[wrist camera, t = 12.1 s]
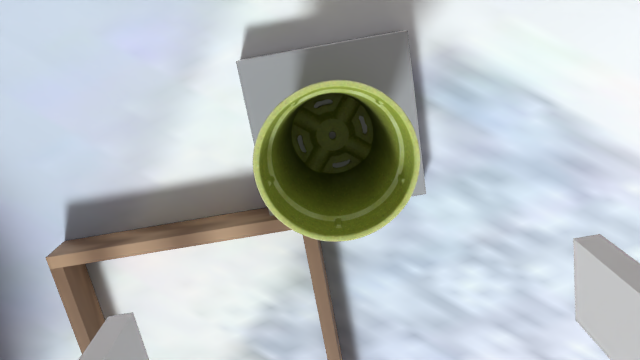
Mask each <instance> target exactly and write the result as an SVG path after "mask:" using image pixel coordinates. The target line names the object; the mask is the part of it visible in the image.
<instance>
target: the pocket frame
mask: <svg viewBox="0 0 640 360" xmlns="http://www.w3.org/2000/svg"><path fill="white" fill-rule="evenodd" d="M287 230H292V229H290V228H289V227H287V226H286V225H284V224H283V223H282V222H281V221H280V220H279V219H277V218H276V217H275V216H274V215H273V216H270V214H269V210H268V207H267V208H261V209H255V210H249V211H243V212H237V213H231V214H225V215H219V216H213V217H207V218H201V219H195V220H189V221H183V222H177V223H171V224H165V225H158V226H152V227H146V228H140V229H134V230H128V231H122V232H116V233H110V234H104V235H98V236H92V237H86V238H80V239H74V240H68V241H64V242H63V243H62V244H61V245H60V246H58V247H57V248H56V249H55V250H54V251H53V252H52V253H50V254H49V255H48V256H47V257H46V260H47V262H48V265H49V268H50V270H51V273H52V276H53V278H54V281H55V284H56V286H57V289H58V292H59V294H60V297H61V300H62V302H63V305H64V307H65V310H66V313H67V315H68V318H69V321H70V323H71V326H72V329H73V331H74V334H75V337H76V339H77V342H78V345H79V347H80V350H81V353H82V354H83V352H84V351H85V350H86V348H87V347H88V345H89V344H90V342H91V341H92V339H93V338H94V337H95V335H96V334H97V332H98V331H99V329H100V328H101V326H102V325H103V323H104V322H105V319H104V316H103V314H102V311H101V308H100V305H99V302H98V299H97V296H96V294H95V291H94V288H93V285H92V282H91V279H90V277H89V274H88V271H87V268H86V265H85V264H86V263H92V262H98V261H104V260H110V259H116V258H122V257H128V256H135V255H141V254H147V253H153V252H159V251H165V250H171V249H177V248H183V247H190V246H196V245H202V244H208V243H214V242H220V241H226V240H232V239H239V238H245V237H251V236H257V235H263V234H269V233H275V232H281V231H287ZM303 239H304V244H305V249H306V254H307V259H308V264H309V269H310V274H311V279H312V284H313V289H314V294H315V299H316V304H317V309H318V314H319V319H320V324H321V329H322V334H323V339H324V344H325V349H326V354H327V359H328V360H343V359H342V354H341V349H340V343H339V338H338V333H337V328H336V322H335V317H334V312H333V306H332V301H331V296H330V290H329V285H328V280H327V275H326V269H325V264H324V259H323V253H322V248H321V243H320V240H317V239H313V238H310V237H307V236H304V235H303Z"/></svg>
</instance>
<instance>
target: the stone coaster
mask: <svg viewBox="0 0 640 360" xmlns="http://www.w3.org/2000/svg"><path fill="white" fill-rule="evenodd" d="M236 64H237V68H238V73H239V77H240V82H241V86H242V91H243V96H244V100H245V105H246V109H247V114H248V118H249V123H250V128H251V132H252V137H253V141H254V146H255V142H256V139H257V136H258V134H259V131H260V129H261V127H262V125H263V123H264V122H265V120H266V119H267V117H268V116H269V114H270V113H271V112H272V111H273V109H274V108H275V107H276V106H277V105H278V104H279V103H280V102H282V101H283V100H284V99H285V98H287V97H288V96H290V95H291V94H293V93H294V92H296V91H298V90H300V89H301V88H304V87H306V86H308V85H311V84H314V83H318V82H322V81H328V80H350V81H356V82H360V83H364V84H367V85H369V86H372V87H374V88H376V89H378V90H380V91H381V92H383V93H385V94H386V95H387V96H389V97H390V98H391V99H393V100H394V101H395V102H396V103H397V104H398V105H399V106H400V107H401V108H402V109H403V111H404V112H405V114H406V115H407V116H408V118H409V120H410V122H411V123H412V125H413V127H414V130H415V132H416V136H417V139H418V143H419V148H420V171H419V176H418V180H417V183H416V186H415V189H414V191H413V194H412V196H417V195H423V194H426V188H425V179H424V171H423V162H422V153H421V144H420V135H419V127H418V118H417V109H416V100H415V92H414V83H413V74H412V65H411V56H410V48H409V39H408V31H404V30H402V31H396V32H391V33H385V34H380V35H374V36H369V37H363V38H357V39H352V40H346V41H341V42H335V43H329V44H324V45H318V46H313V47H307V48H302V49H296V50H290V51H285V52H279V53H274V54H268V55H262V56H257V57H251V58H246V59H240V60H238V61H236ZM332 102H333V101H332V100H330V99H327V100H323V101H319V102H316V104H315V105H314V108H318V107H320V106H322V105H326V104H332ZM359 120H360V122H361V125H362V130H363V133H364V134H366V133H367V125H366V124H365V121H364V118H363V117H362V116H359ZM329 137H330V138H331V139H334V138H335V137H336V135H335V132H330V133H329ZM297 139H298V143H299V146H300V149H301V150H302V152H306V149H305V147H304V145H303V140H302V136H301V135H300V136H298V138H297ZM349 162H350V160H347V161H344V162H339V163H334V164H333V167H335V168H338V167H342V166H345V165H346V164H348V163H349ZM268 210H269V209H268ZM269 214H270V216H273V213H272V212H271V211H270V210H269Z"/></svg>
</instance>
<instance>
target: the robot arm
mask: <svg viewBox="0 0 640 360" xmlns="http://www.w3.org/2000/svg"><path fill="white" fill-rule="evenodd" d="M573 245H574V282H575V319H576V321H577V322H578V323H579V325H580V326H581V327H582V328H583V329H584V330H585V331H586V332H587V334H588V335H589V336H590V337H591V338H592V339H593V340H594V342H595V343H596V344H597V345H598V346H599V347H600V348H601V349H602V351H603V352H604V353H605V354H606V355H607V356H608V357H609V359H610V360H640V263H638V262H637V261H636V260H634V259H633V258H632V257H630V256H629V255H628V254H626V253H625V252H623V251H622V250H621V249H619V248H618V247H617V246H615V245H614V244H613V243H611V242H610V241H609V240H607V239H606V238H605V237H603V236H602V235H600V234H598V235H592V236H586V237H580V238H574V239H573ZM79 360H149V358H148V355H147V352H146V349H145V347H144V344H143V341H142V338H141V335H140V332H139V329H138V326H137V323H136V320H135V317H134V314H133V313H127V314H121V315H115V316H109V317H108V318H107V319H106V321H105V322H104V323H103V325H102V326H101V328H100V329H99V331H98V332H97V334H96V335H95V337H94V338H93V339H92V341H91V342H90V344H89V345H88V347H87V348H86V350H85V351H84V352H83V354H82V355H81V357H80V358H79Z"/></svg>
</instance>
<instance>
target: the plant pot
mask: <svg viewBox="0 0 640 360" xmlns="http://www.w3.org/2000/svg"><path fill="white" fill-rule="evenodd" d="M327 99H330V100H332V101H333V102H332V104H326V105H322V106H320V107H318V108H314V105H315V104H316V102H319V101H323V100H327ZM359 116H362V117H363V118H364V121H365V124H366V125H367V133H366V134H364V133H363V130H362V125H361V122H360V120H359ZM330 132H335V135H336V137H335V138H334V139H331V138H330V137H329V133H330ZM300 135H301V136H302V140H303V145H304V147H305V149H306V152H302V150H301V149H300V146H299V143H298V139H297V138H298V136H300ZM347 160H350V162H349V163H348V164H346V165H345V166H342V167H338V168H335V167H333V164H334V163H339V162H344V161H347ZM419 171H420V148H419V143H418V139H417V136H416V132H415V130H414V127H413V125H412V123H411V122H410V120H409V118H408V116H407V115H406V114H405V112H404V111H403V109H402V108H401V107H400V106H399V105H398V104H397V103H396V102H395V101H394V100H393V99H391V98H390V97H389V96H387V95H386V94H385V93H383V92H381V91H380V90H378V89H376V88H374V87H372V86H369V85H367V84H364V83H360V82H356V81H350V80H328V81H322V82H318V83H314V84H311V85H308V86H306V87H304V88H301V89H300V90H298V91H296V92H294V93H293V94H291V95H290V96H288V97H287V98H285V99H284V100H283V101H282V102H280V103H279V104H278V105H277V106H276V107H275V108H274V109H273V111H272V112H271V113H270V114H269V116H268V117H267V119H266V120H265V122H264V123H263V125H262V127H261V129H260V131H259V134H258V136H257V139H256V142H255V146H254V153H253V172H254V177H255V181H256V185H257V188H258V190H259V193H260V195H261V197H262V199H263V201H264V203H265V204H266V206H267V207H268V209H269V210H270V211H271V212H272V213H273V215H274V216H275V217H276V218H277V219H279V220H280V221H281V222H282V223H283V224H284V225H286V226H287V227H289V228H290V229H292V230H294V231H295V232H298V233H300V234H302V235H304V236H307V237H310V238H313V239H317V240H322V241H334V242H336V241H349V240H354V239H358V238H361V237H364V236H366V235H369V234H371V233H374V232H376V231H377V230H379V229H381V228H382V227H384V226H385V225H386V224H388V223H389V222H390V221H391V220H393V219H394V218H395V217H396V216H397V215H398V214H399V213H400V212H401V211H402V209H403V208H404V207H405V205H406V204H407V203H408V201H409V199H410V197H411V196H412V194H413V191H414V189H415V186H416V183H417V180H418V176H419Z"/></svg>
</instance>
